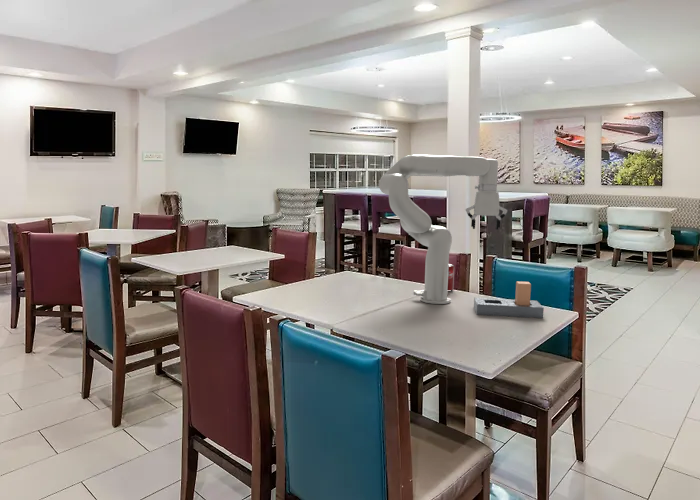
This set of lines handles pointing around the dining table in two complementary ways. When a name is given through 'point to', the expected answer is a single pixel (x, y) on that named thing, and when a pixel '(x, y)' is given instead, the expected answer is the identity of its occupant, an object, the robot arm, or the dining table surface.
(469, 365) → the dining table surface
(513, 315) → the gray peg hole board
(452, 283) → the soda can
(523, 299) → the square peg
